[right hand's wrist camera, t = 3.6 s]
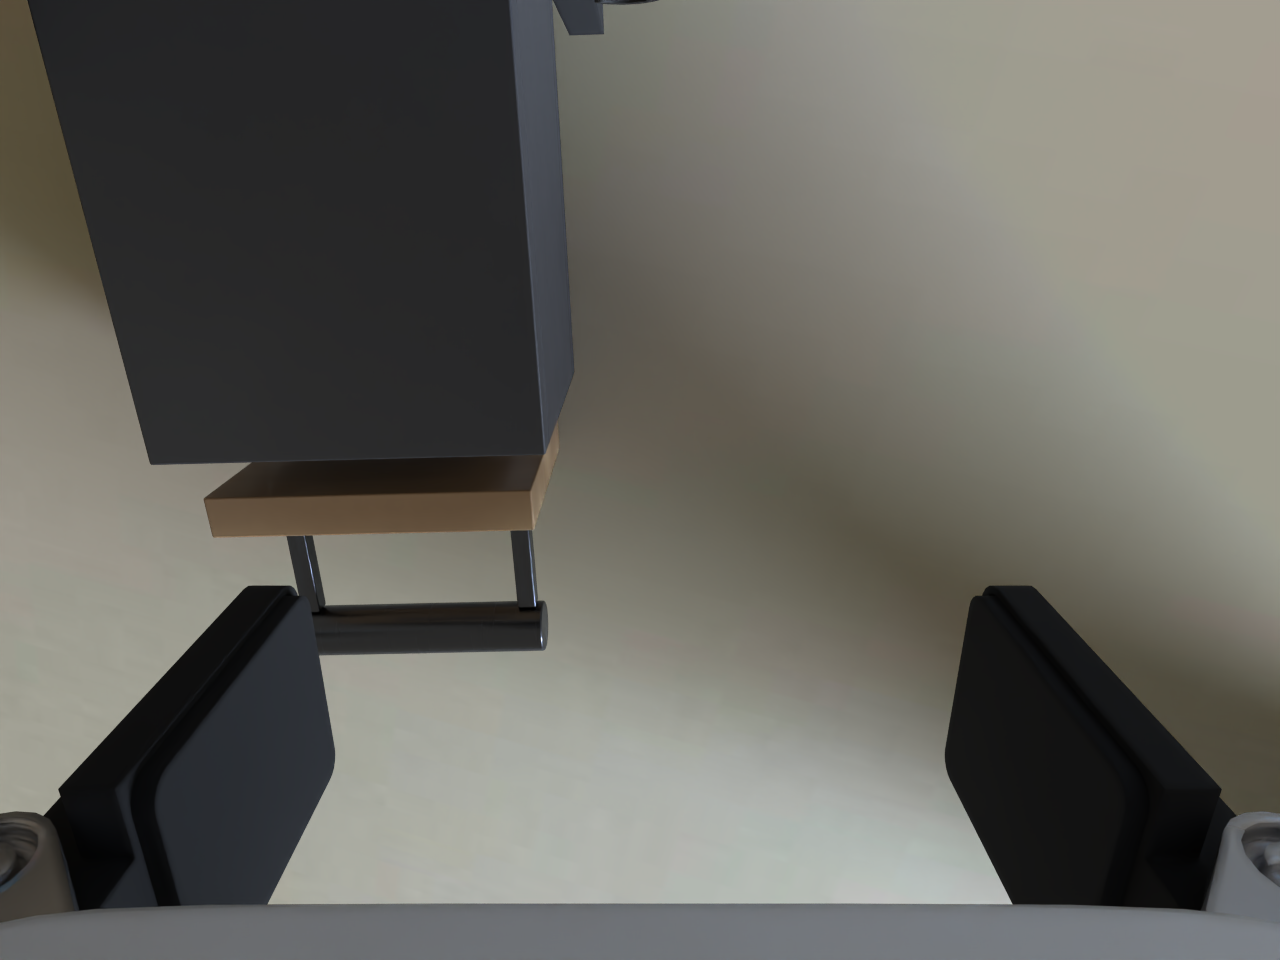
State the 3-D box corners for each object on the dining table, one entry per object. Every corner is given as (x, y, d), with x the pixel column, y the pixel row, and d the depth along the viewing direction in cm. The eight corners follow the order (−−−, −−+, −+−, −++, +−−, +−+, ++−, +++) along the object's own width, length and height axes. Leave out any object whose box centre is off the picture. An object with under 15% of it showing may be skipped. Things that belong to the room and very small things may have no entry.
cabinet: (574, 373, 29) (546, 455, 21) (290, 380, 29) (149, 465, 21) (541, -175, 23) (483, -364, 15) (187, -161, 23) (-64, -339, 15)
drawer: (569, 590, 31) (549, 703, 24) (336, 596, 31) (254, 709, 24) (526, -33, 23) (480, -109, 17) (220, -22, 24) (58, -93, 17)
